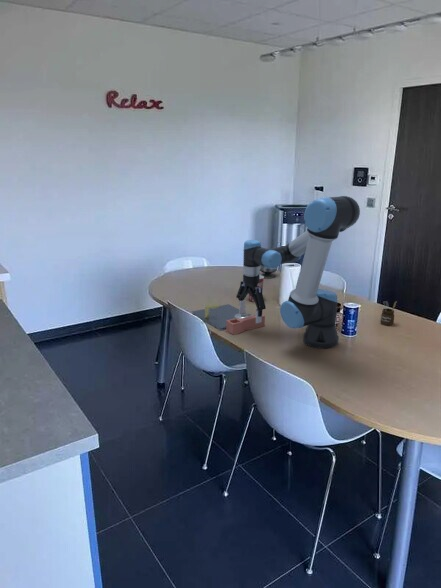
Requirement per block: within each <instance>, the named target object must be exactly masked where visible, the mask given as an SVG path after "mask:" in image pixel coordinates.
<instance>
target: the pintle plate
mask: <svg viewBox="0 0 441 588" xmlns="http://www.w3.org/2000/svg"><path fill="white" fill-rule="evenodd" d="M192 315H194V316H196V317H197V316H198V317H197V318H199V319H200V320H202V321H204V322H206V323H207V324H208V325H210V326H212V327H214V328H215V329H217V330H219V331H226V321H227V320H231V319H236V318H237V319H240V318H245V317H241V314H239V308H238V307H235V306H233V305H231V304H222V305H219V308H212V309H209V319H205V308H203V309H198V310H193V311H192ZM249 316H253V314H251V313H248V312H246V317H249Z"/></svg>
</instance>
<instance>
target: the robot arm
mask: <svg viewBox="0 0 441 588" xmlns="http://www.w3.org/2000/svg"><path fill="white" fill-rule="evenodd" d="M360 216H361V208H360V206H359V203H358V201H356V200H355V199H354V198H353V197H350V196H346V195H342V196H341V195H340V196H333V197H332V196H330V197H327V196H325V197H320V198H316V199H313V200H312V201H310V203H308V204H307V206H306V208H305V211H304V214H303V220H304V224H305V227H306V230H305V231H304V232H303V233H301V234H300V235H298V236H297V237H295V238H294V239H293V240H292V241H290V242H289V243H287V244H286V245H284V246H278V247H271V248H265V247H262V243H261V242H260V241H259V240H257V239H247V240H245V241H244V244H243V267H242V281H240V283H239V287H238V290H237V293H236V299H238V302H239V303H238V306H239V307H238V309H239V314H244V313H245V307H246V297H247V295H249V294H250V295H251V296H252V297H253V299H254V301H255V302H254V304H255V306H256V309H255V315H256V323H261V322H262V315H263V310H266V301H265V299H264V295H263V292H262V288H258V287H257V284H258V283H259V279H260V275H261V274H260V272H261V271H260V265H262V266H265V267H268V268H277V269H278V267H279V266H280V265H282V264H288V263H295V262H296V261H299V260H301V259H302V262H301V266H300V269H299V273H298V278H297V281H296V285H295V288H294V289H292V290H291V291H290V293H289V297H288V300H285V301H284V302H282V303H281V305H280V308H279V313H280V317H281V319H282V321H283V323H284V324H285V325H286V326H287V327H289V328H290V329H301V328H304V327H306V328H305V330H304V333H303V335H302V342H303V343H304V344H305V345H306V346H309V347H312V348H315V349H331V348H336V347H337V346H338V345H339V338H340V337H339V336H338V331H337V328H336V327H337V325H336V322H337V313H338V312H337V310H338V309H337V308H338V302H339V301H338V294H337V293H336V292H334V291H332V290H330V289H329V290H328V289H323V288H319V286H320V284H321V280H322V277H323V273H324V270H325V267H326V264H327V260H328V257H329V253H330V251H331V246H332V244H333V241H335V240H337V239H338V237H339V235H340V233H342V232H345V231H346V230H348V229H349V228H352V226H354V225H355V224H356V223H357V221H358V220H359V219H360ZM302 256H303V258H302ZM255 293H256V294H255Z"/></svg>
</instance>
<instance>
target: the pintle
mask: <svg viewBox="0 0 441 588" xmlns="http://www.w3.org/2000/svg"><path fill="white" fill-rule="evenodd" d="M246 313H247V306H245V313H244V314H241V317H246Z"/></svg>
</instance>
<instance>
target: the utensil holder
mask: <svg viewBox="0 0 441 588" xmlns="http://www.w3.org/2000/svg"><path fill="white" fill-rule="evenodd" d="M397 302H398V301H396V300H395V301H394V303H393V306H392V308H389V307H385V306H383V309H382V310H381V311H382V312H381V314H380V324H381V325H383V326H387V327H389V326H393V325H394V321H395V310H394V308H395V307H396V304H397ZM384 303H385V305H388V302H387V301H384Z"/></svg>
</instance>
